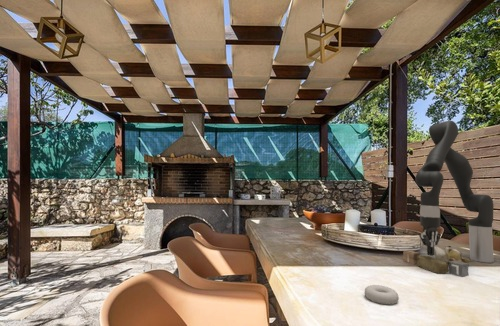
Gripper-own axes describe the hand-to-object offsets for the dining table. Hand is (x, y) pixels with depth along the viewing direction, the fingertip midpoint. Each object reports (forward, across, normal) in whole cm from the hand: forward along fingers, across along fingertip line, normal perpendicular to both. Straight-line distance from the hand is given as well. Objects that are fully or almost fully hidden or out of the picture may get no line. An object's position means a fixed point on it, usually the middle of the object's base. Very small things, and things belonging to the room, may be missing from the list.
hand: (430, 255), depth 122 cm
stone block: (+7, -1, 0) cm, 7 cm away
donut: (+7, +49, +12) cm, 51 cm away
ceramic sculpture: (+6, -20, -2) cm, 21 cm away
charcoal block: (+6, -4, +9) cm, 12 cm away
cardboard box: (+6, -3, -11) cm, 13 cm away
